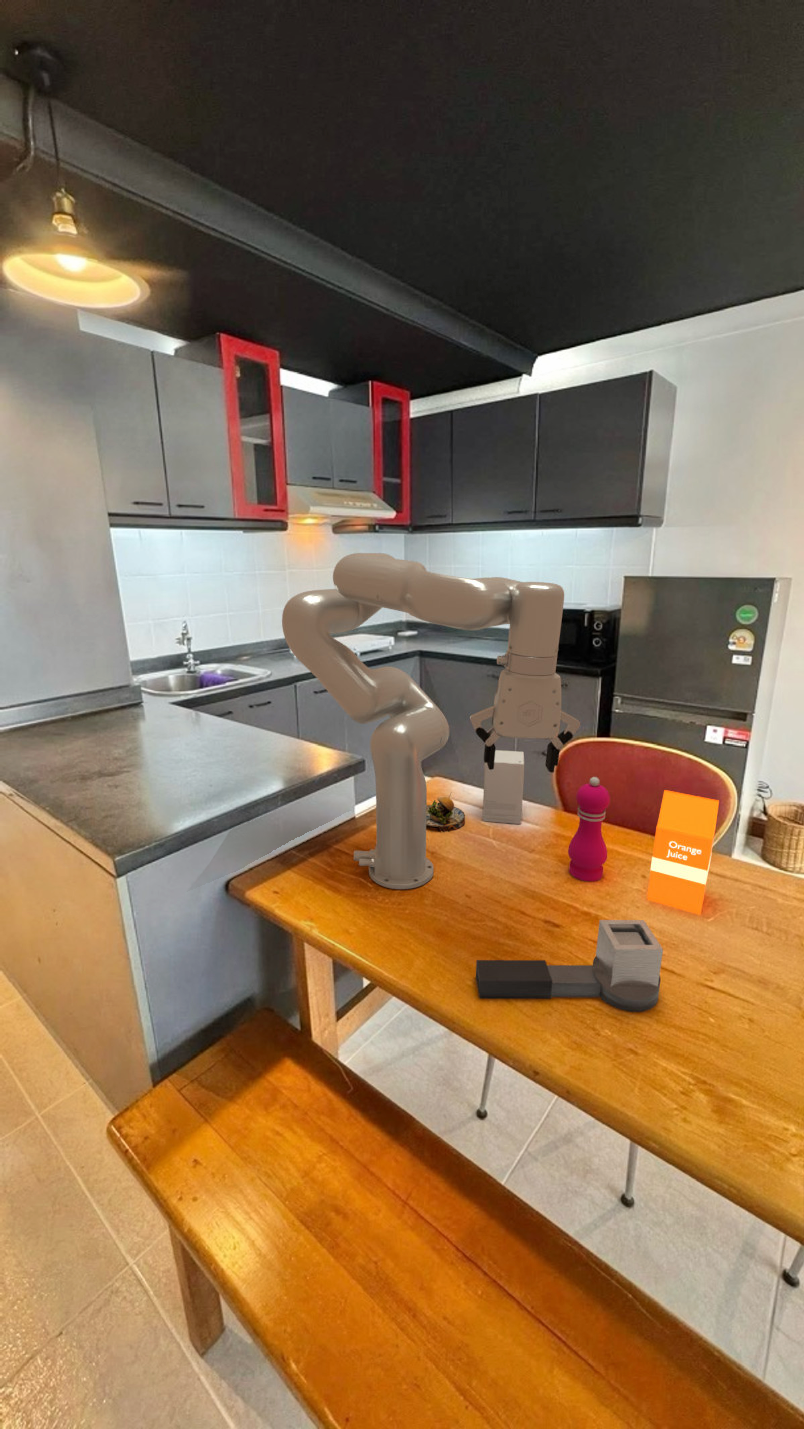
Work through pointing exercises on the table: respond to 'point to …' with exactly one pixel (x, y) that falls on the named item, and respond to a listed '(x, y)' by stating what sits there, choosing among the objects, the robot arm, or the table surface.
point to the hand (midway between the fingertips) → (519, 768)
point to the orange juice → (682, 851)
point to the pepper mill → (589, 833)
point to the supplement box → (504, 788)
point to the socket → (628, 955)
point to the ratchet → (561, 981)
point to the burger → (444, 815)
